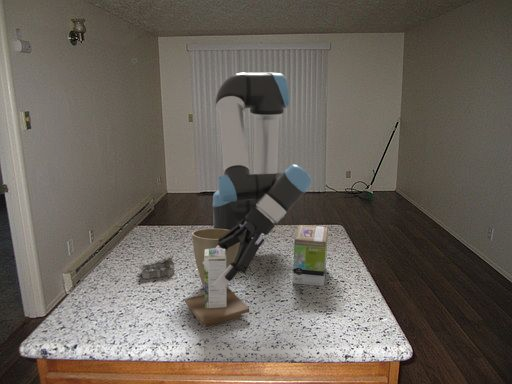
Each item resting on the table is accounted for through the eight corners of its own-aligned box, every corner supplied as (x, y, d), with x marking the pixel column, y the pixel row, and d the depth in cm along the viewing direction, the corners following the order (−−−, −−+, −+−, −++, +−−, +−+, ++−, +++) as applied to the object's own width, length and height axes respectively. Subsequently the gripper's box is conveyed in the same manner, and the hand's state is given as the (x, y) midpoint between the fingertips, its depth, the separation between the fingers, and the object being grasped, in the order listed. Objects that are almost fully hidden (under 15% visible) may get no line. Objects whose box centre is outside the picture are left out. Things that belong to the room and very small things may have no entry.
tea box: (324, 287, 120) (326, 241, 117) (292, 284, 122) (292, 239, 119) (326, 266, 135) (328, 225, 131) (297, 264, 137) (297, 223, 133)
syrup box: (205, 298, 108) (203, 248, 104) (226, 297, 108) (225, 247, 105) (205, 309, 102) (202, 257, 99) (227, 307, 103) (226, 255, 100)
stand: (185, 308, 108) (184, 298, 108) (228, 297, 114) (228, 287, 114) (202, 332, 97) (202, 321, 97) (249, 318, 103) (249, 308, 103)
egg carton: (174, 267, 136) (173, 256, 135) (175, 276, 128) (174, 265, 127) (141, 270, 133) (140, 259, 132) (141, 280, 126) (140, 268, 125)
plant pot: (203, 296, 111) (204, 241, 109) (183, 280, 124) (184, 230, 122) (248, 288, 119) (250, 236, 117) (225, 274, 132) (227, 227, 130)
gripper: (293, 239, 94) (233, 307, 93) (259, 211, 117) (211, 265, 116) (272, 220, 91) (210, 290, 90) (242, 195, 114) (192, 250, 113)
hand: (211, 276), depth 103 cm, fingers open, 13 cm apart
